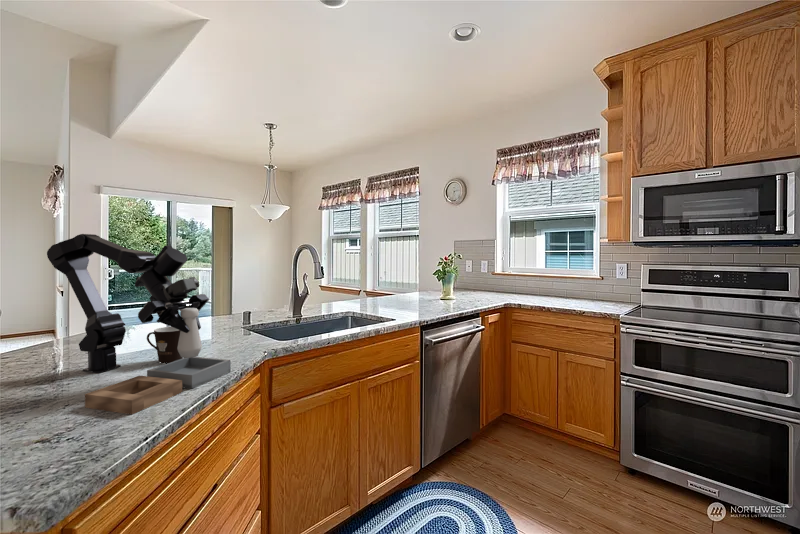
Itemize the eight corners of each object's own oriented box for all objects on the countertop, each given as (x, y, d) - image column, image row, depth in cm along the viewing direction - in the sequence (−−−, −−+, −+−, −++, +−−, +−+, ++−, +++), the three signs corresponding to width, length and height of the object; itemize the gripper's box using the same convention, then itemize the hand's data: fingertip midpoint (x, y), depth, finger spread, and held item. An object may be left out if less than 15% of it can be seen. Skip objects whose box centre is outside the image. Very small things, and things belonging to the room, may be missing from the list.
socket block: (85, 407, 82) (84, 394, 82) (139, 387, 95) (139, 375, 95) (132, 414, 79) (131, 400, 79) (182, 392, 92) (182, 380, 91)
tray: (147, 383, 97) (146, 370, 97) (189, 367, 111) (189, 356, 111) (192, 389, 94) (191, 375, 94) (230, 372, 107) (230, 359, 107)
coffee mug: (192, 359, 120) (191, 328, 119) (163, 366, 112) (162, 333, 112) (173, 354, 126) (172, 324, 125) (144, 360, 118) (143, 328, 118)
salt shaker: (198, 358, 100) (198, 309, 100) (174, 359, 99) (174, 310, 98) (204, 352, 106) (203, 306, 105) (181, 353, 104) (180, 307, 104)
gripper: (146, 269, 93) (183, 316, 91) (203, 266, 111) (235, 306, 109) (121, 299, 95) (157, 346, 93) (181, 292, 114) (212, 331, 111)
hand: (194, 330), depth 102 cm, fingers closed on salt shaker, 3 cm apart
